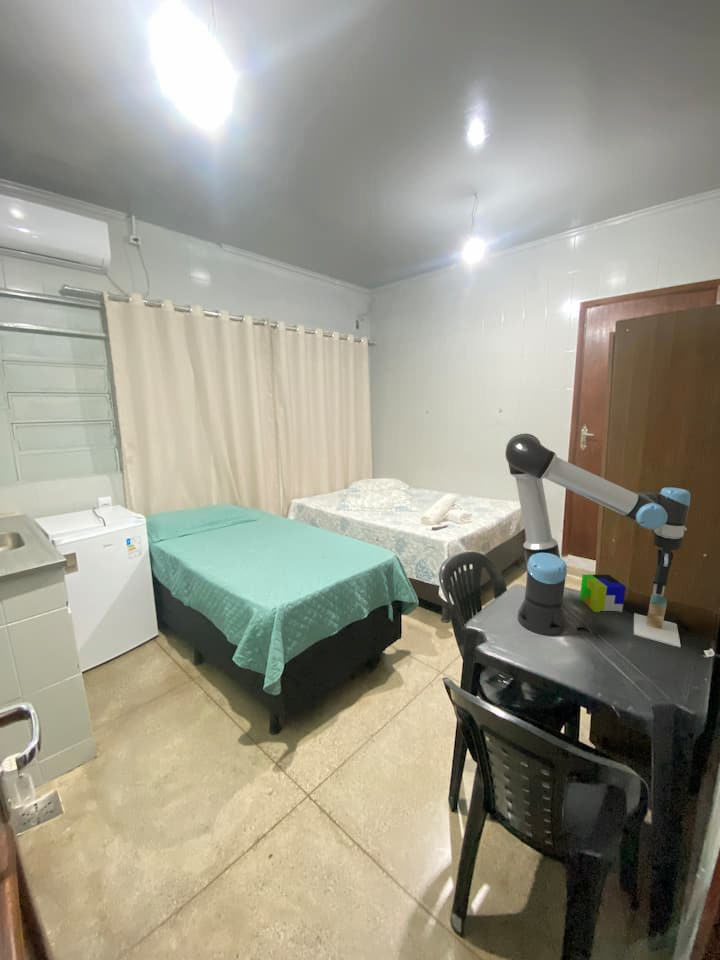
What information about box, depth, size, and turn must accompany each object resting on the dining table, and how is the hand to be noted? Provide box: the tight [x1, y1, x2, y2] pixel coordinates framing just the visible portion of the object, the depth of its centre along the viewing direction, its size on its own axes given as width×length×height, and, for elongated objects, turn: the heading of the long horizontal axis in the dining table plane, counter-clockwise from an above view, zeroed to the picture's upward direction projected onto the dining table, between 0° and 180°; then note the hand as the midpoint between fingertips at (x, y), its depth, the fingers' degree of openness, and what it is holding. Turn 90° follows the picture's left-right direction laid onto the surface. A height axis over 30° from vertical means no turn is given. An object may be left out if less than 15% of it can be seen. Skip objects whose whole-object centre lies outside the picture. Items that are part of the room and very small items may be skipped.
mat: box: [633, 612, 682, 648], centre depth 132 cm, size 12×15×1 cm
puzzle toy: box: [579, 573, 627, 613], centre depth 147 cm, size 10×10×10 cm
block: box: [646, 594, 668, 629], centre depth 132 cm, size 4×4×10 cm
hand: (656, 601), depth 133 cm, fingers closed
